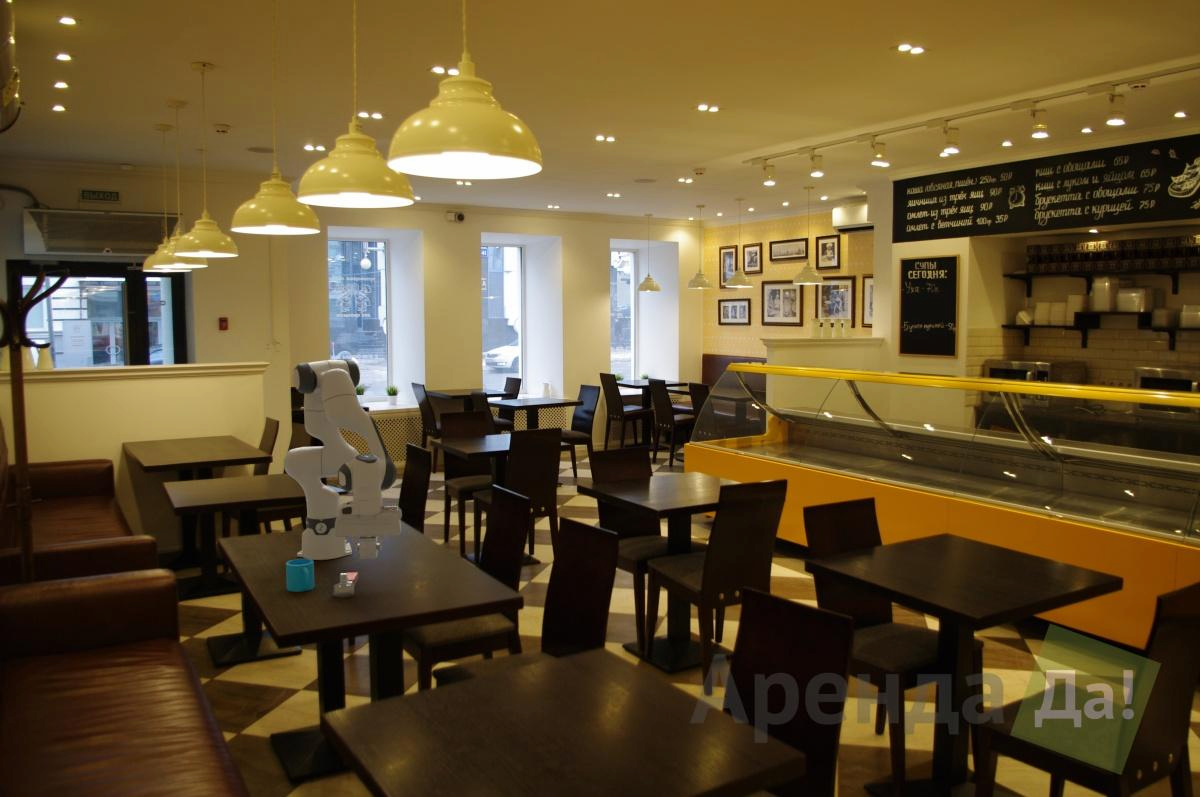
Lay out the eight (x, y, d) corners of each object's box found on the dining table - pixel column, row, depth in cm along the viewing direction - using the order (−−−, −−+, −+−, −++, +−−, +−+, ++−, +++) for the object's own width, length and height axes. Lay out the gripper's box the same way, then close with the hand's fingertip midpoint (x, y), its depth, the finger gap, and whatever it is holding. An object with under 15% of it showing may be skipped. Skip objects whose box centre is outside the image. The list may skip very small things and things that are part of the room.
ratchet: (343, 580, 287) (342, 560, 287) (362, 579, 288) (362, 560, 287) (332, 598, 269) (331, 576, 268) (352, 597, 269) (352, 576, 269)
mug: (283, 586, 280) (282, 561, 279) (309, 582, 285) (308, 557, 284) (295, 596, 270) (294, 570, 270) (322, 591, 275) (321, 565, 274)
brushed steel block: (361, 554, 283) (361, 534, 282) (377, 553, 284) (377, 533, 283) (359, 558, 278) (359, 538, 278) (376, 558, 279) (375, 538, 278)
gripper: (402, 503, 284) (403, 545, 285) (335, 504, 281) (336, 547, 282) (400, 508, 277) (401, 551, 279) (332, 509, 274) (333, 553, 276)
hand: (368, 549), depth 281 cm, fingers closed on brushed steel block, 5 cm apart
